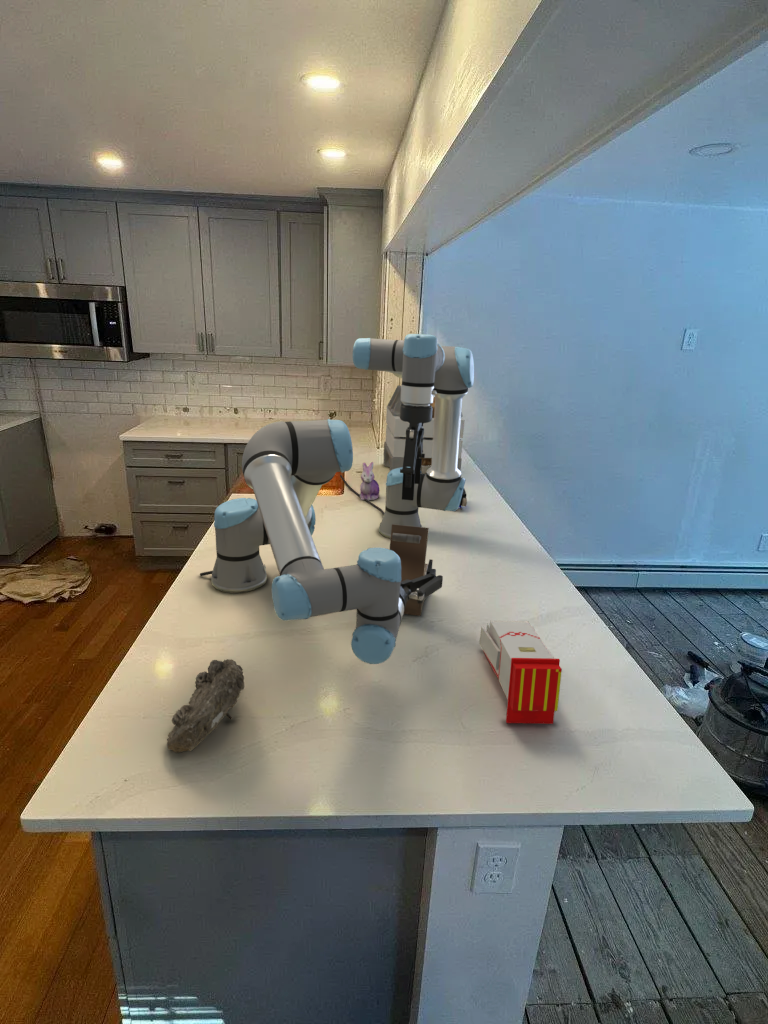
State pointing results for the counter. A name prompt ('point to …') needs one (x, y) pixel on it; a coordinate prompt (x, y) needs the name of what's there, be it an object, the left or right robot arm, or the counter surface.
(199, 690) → the fossil
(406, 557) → the lid
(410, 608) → the chest
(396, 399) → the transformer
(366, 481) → the figurine
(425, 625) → the counter surface
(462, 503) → the figurine character
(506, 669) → the toy
